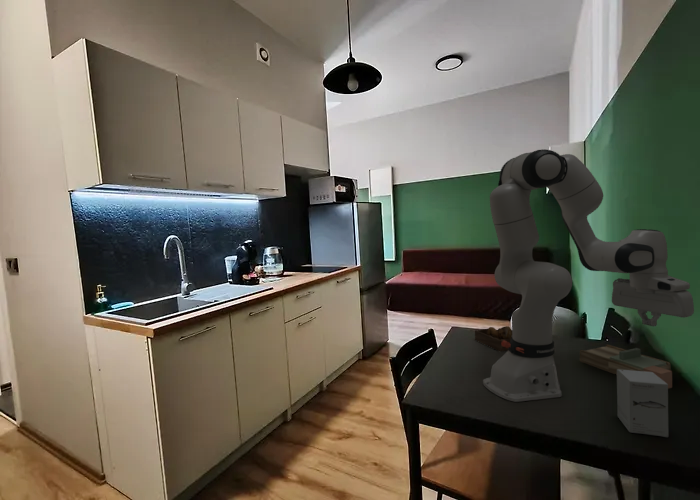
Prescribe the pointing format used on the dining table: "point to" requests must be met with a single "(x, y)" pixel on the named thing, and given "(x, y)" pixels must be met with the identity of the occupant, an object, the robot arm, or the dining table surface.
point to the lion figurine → (500, 332)
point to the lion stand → (490, 340)
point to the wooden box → (603, 361)
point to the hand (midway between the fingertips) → (649, 325)
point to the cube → (661, 374)
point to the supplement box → (642, 402)
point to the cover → (636, 359)
